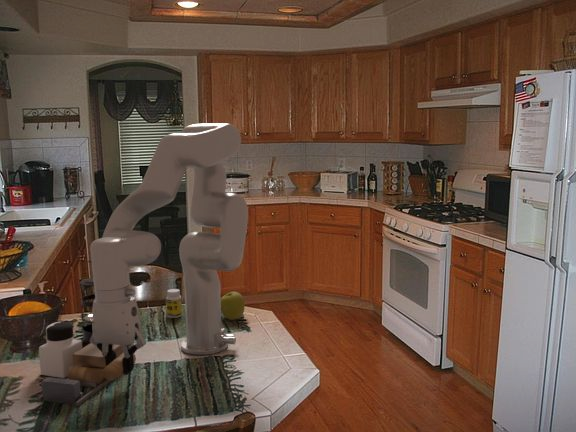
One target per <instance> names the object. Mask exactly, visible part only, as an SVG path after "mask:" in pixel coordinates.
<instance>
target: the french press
mask: <svg viewBox="0 0 576 432" xmlns="http://www.w3.org/2000/svg"><path fill="white" fill-rule="evenodd" d="M87 263H90V264H92V261H91V259H89V260H87ZM79 284H80V285H81V290H82V291H83V292H85V291H87V290H88V289H90V288H91V287H94V281H93V277H89V278H84V279H82V280H81V281H80V282H79ZM93 299H94V300H95V293H93V294H88V295H84V296H83V297H82V298H80V304H81V306H80V307H81V320H82V335H83V337H82V343H85V344H87V345H88V344H90V343H91V342H90V338H91V336H92V334H93V331H92V313H89V314H86V315H85V312H84V310H85V309H84V307H87V308H90V307H91V308H92V309H93V301H89V300H93ZM85 323H88V324H87V325H86V324H85Z"/></svg>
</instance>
